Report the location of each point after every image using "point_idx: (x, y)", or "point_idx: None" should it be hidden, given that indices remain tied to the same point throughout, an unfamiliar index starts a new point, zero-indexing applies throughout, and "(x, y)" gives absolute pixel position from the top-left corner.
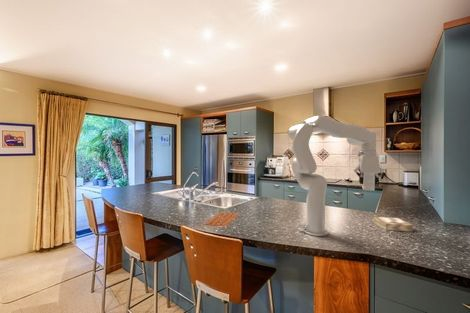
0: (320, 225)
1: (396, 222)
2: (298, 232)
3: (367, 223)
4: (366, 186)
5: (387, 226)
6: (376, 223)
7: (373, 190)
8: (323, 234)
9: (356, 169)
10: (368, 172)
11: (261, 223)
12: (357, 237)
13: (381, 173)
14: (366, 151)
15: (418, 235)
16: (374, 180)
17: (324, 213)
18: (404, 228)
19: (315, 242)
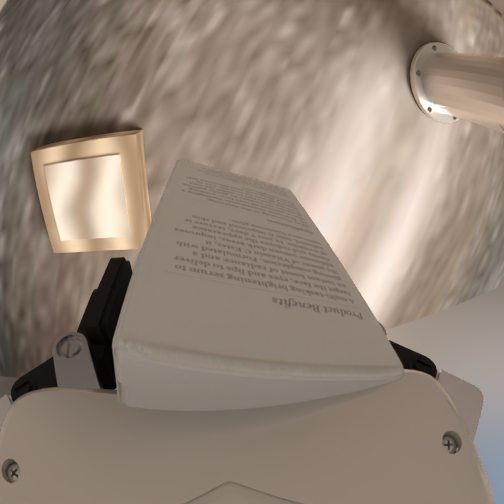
0: (458, 53)
1: (82, 160)
2: None
3: None
4: (273, 194)
5: (131, 132)
6: (149, 214)
7: (189, 163)
8: (432, 42)
9: (469, 421)
10: (312, 359)
11: None
12: (319, 18)
13: (10, 399)
14: None
15: (47, 95)
16: (162, 210)
17: (477, 64)
18: (67, 142)
19: (454, 6)
